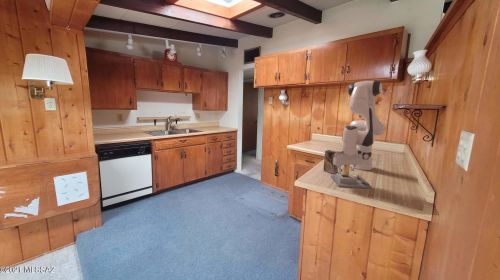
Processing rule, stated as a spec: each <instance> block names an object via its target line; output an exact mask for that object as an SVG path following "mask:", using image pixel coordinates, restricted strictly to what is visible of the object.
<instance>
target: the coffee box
mask: <svg viewBox="0 0 500 280" xmlns="http://www.w3.org/2000/svg"><path fill="white" fill-rule="evenodd" d="M336 152H337V151H335V150H331V149H328V150H325V151H324V159H323V160H324V161H323V172H325V173H330V174H332V175H333V174H334V175H336V173H338V172H339V168H338V166H336V165H334V164H333V158H334V154H335V153H336Z"/></svg>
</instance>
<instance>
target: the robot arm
mask: <svg viewBox="0 0 500 280" xmlns="http://www.w3.org/2000/svg"><path fill="white" fill-rule="evenodd" d="M382 90H383V84H382V81H381V80H363V81H357V82H356V81H355V82H352V83H350V84H348V87H347V91H348V95H349V96H350V99H349V109H350V111H351V112H352V113H354V114H356V115H358V116H360V117H363V118H364V120H363V119H362V120H360V119H358V120H357V119H356V120H353V121H351V122H350V125H347V126H345V127H344V129H343V132H342V136H341V140H342V144H341V150H338V151H336V153H335V154H334V158H333V164H334V165H336V166H338V172H339V173H341V172H343V168H342V166H344V165H348V164H349V165H350V167H349V168H350V171H351V172H354V171H355V170H356V169H357V170H361V171H371V170H372V169H374V168H375V167H374V166H373V157H372V155H373V154H372V153H373V152H372V151H373V150H372V148H373V145H374V143H375V136H381V135H383V133H384V132H385V129H386V127H385V124H384V123H383V122H381V121H380V119H379V118H378V116H377V112H376V96H378V95H380V94H381V92H382Z"/></svg>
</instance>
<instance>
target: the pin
mask: <svg viewBox="0 0 500 280" xmlns="http://www.w3.org/2000/svg"><path fill="white" fill-rule="evenodd" d="M350 168H351V167H350V165H349V164H348V165H343V173H342V174H343V177H348V176H349V174H350Z"/></svg>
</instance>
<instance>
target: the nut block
mask: <svg viewBox="0 0 500 280" xmlns="http://www.w3.org/2000/svg"><path fill="white" fill-rule="evenodd" d="M330 178H331V179H332V181H333V182H334V183H335V184H336V186H337V187H338V188H350V189H351V188H352V189H370V190H372V189H373V187H372V186H371V185H370V183H368V181H366V180H365V179H364V178H363V177H362V176H360V174H356V176H354V175H352V173H349V176H348V177H343V173H341V172H339V173H338V172H337V173H335V174H334V175H333V174H331V175H330Z"/></svg>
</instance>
